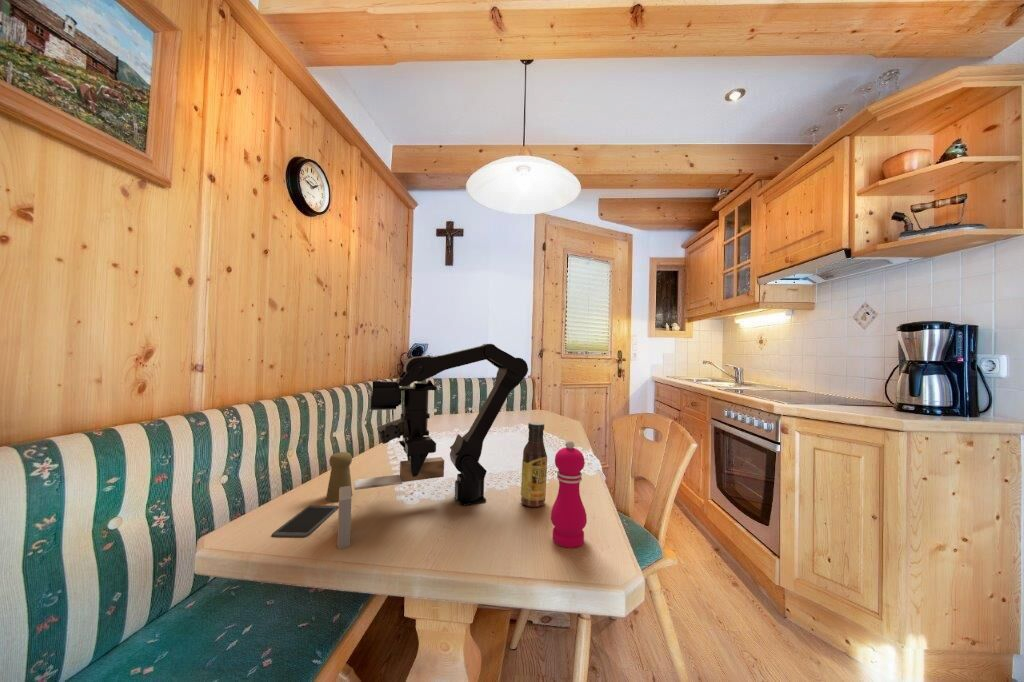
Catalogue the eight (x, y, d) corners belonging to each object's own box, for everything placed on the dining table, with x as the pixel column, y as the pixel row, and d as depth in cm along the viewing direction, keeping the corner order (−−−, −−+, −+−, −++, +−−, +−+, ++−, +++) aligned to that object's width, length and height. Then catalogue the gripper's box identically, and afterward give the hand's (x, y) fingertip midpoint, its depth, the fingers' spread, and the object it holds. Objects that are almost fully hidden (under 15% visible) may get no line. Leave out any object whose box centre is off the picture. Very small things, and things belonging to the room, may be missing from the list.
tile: (349, 529, 73) (350, 485, 74) (349, 546, 67) (351, 498, 67) (337, 531, 72) (339, 487, 73) (337, 549, 66) (339, 500, 66)
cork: (341, 503, 86) (343, 457, 86) (320, 500, 87) (322, 455, 87) (357, 493, 92) (359, 450, 92) (337, 491, 93) (338, 449, 93)
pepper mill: (543, 534, 73) (545, 437, 74) (573, 528, 76) (575, 435, 77) (562, 552, 66) (564, 446, 67) (593, 545, 69) (595, 443, 70)
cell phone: (340, 508, 84) (340, 505, 84) (306, 539, 70) (306, 535, 70) (309, 507, 84) (309, 504, 84) (269, 538, 70) (269, 534, 70)
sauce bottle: (532, 510, 84) (534, 427, 84) (515, 502, 89) (517, 422, 89) (551, 503, 88) (553, 423, 89) (533, 495, 93) (535, 419, 93)
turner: (439, 471, 90) (440, 455, 90) (444, 478, 85) (445, 461, 85) (353, 482, 81) (354, 464, 81) (354, 490, 77) (355, 471, 77)
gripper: (377, 404, 90) (374, 466, 89) (384, 417, 73) (381, 493, 73) (421, 402, 95) (419, 461, 94) (437, 414, 78) (435, 486, 77)
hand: (413, 474), depth 85 cm, fingers closed on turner, 3 cm apart
